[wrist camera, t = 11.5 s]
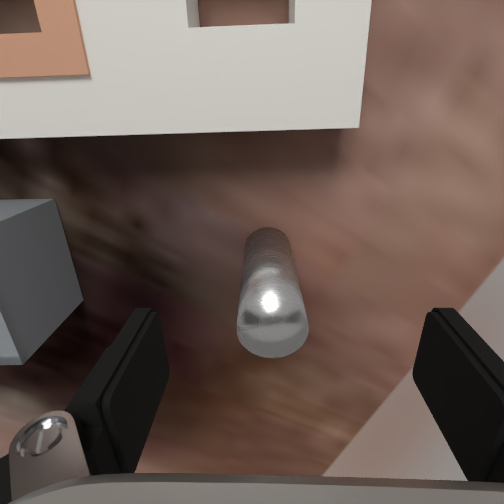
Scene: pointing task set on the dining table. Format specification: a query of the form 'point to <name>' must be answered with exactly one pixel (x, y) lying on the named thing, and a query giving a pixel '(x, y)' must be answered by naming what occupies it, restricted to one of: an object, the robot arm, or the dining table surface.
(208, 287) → the dining table surface
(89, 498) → the robot arm
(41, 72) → the board
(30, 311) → the cover
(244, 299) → the pin
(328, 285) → the dining table surface
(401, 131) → the dining table surface
